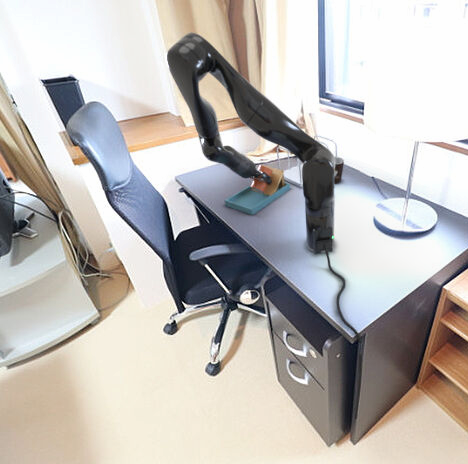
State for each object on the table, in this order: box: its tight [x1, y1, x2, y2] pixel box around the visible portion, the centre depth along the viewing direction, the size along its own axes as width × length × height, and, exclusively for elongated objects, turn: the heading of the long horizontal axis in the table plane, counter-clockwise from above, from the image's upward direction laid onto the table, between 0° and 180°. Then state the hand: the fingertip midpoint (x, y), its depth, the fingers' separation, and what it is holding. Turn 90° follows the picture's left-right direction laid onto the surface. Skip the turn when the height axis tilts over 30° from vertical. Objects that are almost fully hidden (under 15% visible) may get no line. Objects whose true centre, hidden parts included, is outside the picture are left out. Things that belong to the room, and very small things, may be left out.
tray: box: [224, 181, 291, 216], centre depth 137 cm, size 26×15×3 cm, turn 148°
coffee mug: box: [334, 156, 345, 185], centre depth 147 cm, size 12×9×10 cm
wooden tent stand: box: [251, 164, 285, 196], centre depth 139 cm, size 10×12×9 cm
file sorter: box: [276, 134, 338, 188], centre depth 151 cm, size 25×17×16 cm
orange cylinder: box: [249, 164, 273, 193], centre depth 135 cm, size 12×6×12 cm, turn 148°
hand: (264, 181), depth 137 cm, fingers closed on orange cylinder, 6 cm apart
